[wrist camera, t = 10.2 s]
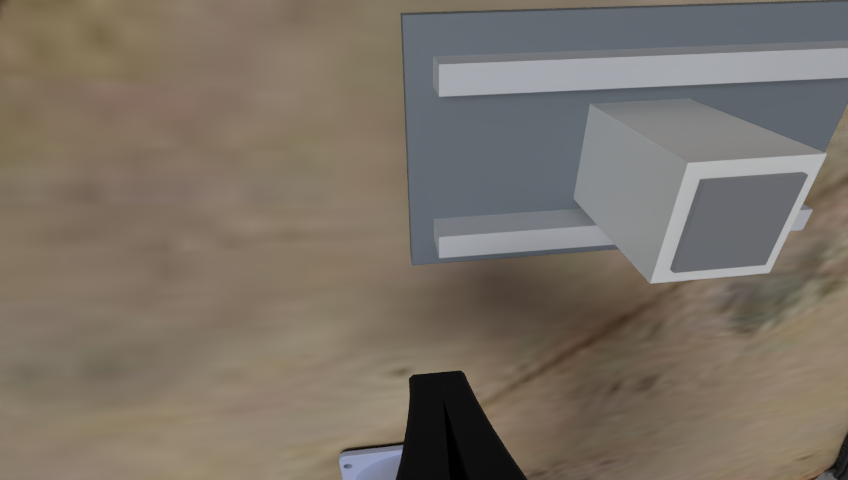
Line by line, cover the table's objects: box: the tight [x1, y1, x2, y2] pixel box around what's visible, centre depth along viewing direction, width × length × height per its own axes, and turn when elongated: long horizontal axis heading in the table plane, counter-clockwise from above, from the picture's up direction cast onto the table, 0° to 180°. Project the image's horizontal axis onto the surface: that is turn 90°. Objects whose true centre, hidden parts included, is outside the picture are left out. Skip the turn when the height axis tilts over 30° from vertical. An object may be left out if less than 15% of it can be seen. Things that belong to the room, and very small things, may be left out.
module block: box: [573, 99, 827, 284], centre depth 15 cm, size 4×4×6 cm
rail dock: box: [401, 0, 848, 265], centre depth 17 cm, size 10×18×2 cm, turn 91°
